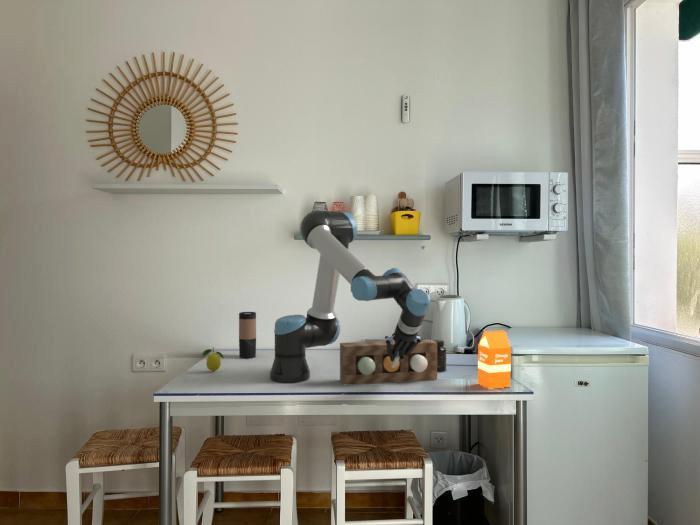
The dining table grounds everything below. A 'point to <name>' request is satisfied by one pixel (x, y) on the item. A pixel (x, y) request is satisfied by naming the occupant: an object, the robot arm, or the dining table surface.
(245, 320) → the travel mug
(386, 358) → the button orange
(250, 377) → the dining table surface
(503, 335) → the orange juice
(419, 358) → the button ivory
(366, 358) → the button sage
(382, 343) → the control box
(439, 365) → the supplement bottle
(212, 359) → the lemon
